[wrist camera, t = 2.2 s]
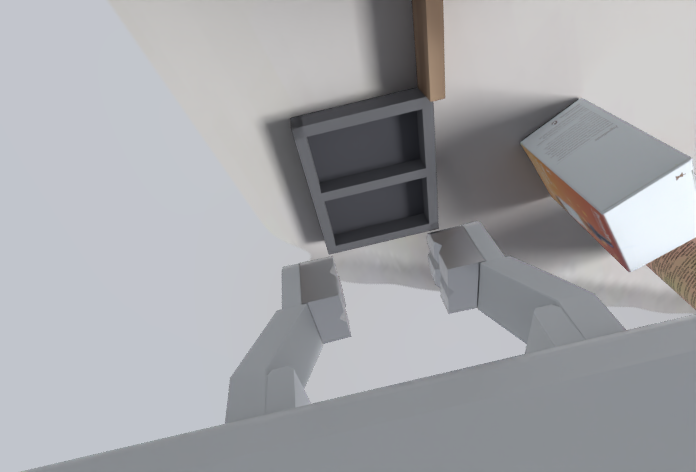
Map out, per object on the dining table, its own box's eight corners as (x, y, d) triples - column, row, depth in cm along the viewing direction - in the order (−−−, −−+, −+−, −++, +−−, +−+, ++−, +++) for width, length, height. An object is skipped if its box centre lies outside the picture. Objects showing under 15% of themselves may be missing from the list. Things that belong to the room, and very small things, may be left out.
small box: (517, 140, 32) (600, 213, 23) (581, 94, 30) (695, 156, 22) (550, 198, 36) (629, 276, 28) (607, 160, 34) (710, 232, 26)
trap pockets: (424, 85, 28) (433, 95, 26) (431, 215, 35) (438, 228, 34) (290, 118, 28) (291, 129, 26) (326, 240, 35) (328, 254, 34)
